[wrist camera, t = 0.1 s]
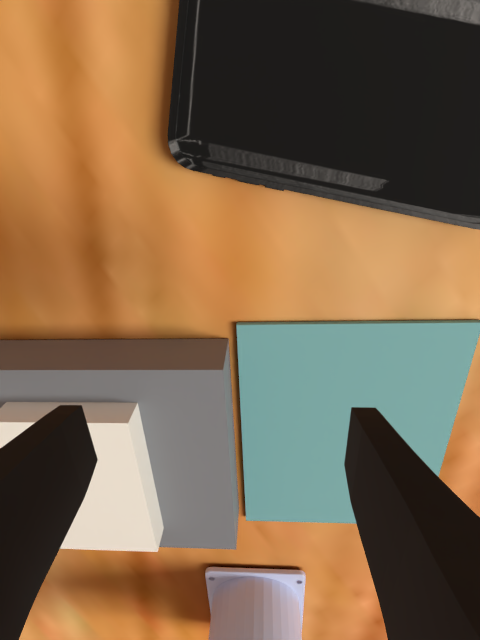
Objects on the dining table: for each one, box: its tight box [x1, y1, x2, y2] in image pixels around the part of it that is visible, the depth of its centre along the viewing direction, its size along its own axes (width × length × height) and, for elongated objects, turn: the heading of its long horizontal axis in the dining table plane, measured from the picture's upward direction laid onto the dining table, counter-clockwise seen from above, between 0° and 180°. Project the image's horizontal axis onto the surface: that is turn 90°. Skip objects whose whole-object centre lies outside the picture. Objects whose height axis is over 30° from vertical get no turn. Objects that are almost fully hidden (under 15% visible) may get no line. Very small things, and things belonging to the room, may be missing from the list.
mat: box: [236, 320, 480, 523], centre depth 23 cm, size 16×12×1 cm
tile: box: [0, 402, 164, 552], centre depth 21 cm, size 10×7×2 cm
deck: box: [0, 339, 239, 549], centre depth 23 cm, size 14×16×3 cm
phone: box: [168, 0, 480, 229], centre depth 15 cm, size 8×1×15 cm
